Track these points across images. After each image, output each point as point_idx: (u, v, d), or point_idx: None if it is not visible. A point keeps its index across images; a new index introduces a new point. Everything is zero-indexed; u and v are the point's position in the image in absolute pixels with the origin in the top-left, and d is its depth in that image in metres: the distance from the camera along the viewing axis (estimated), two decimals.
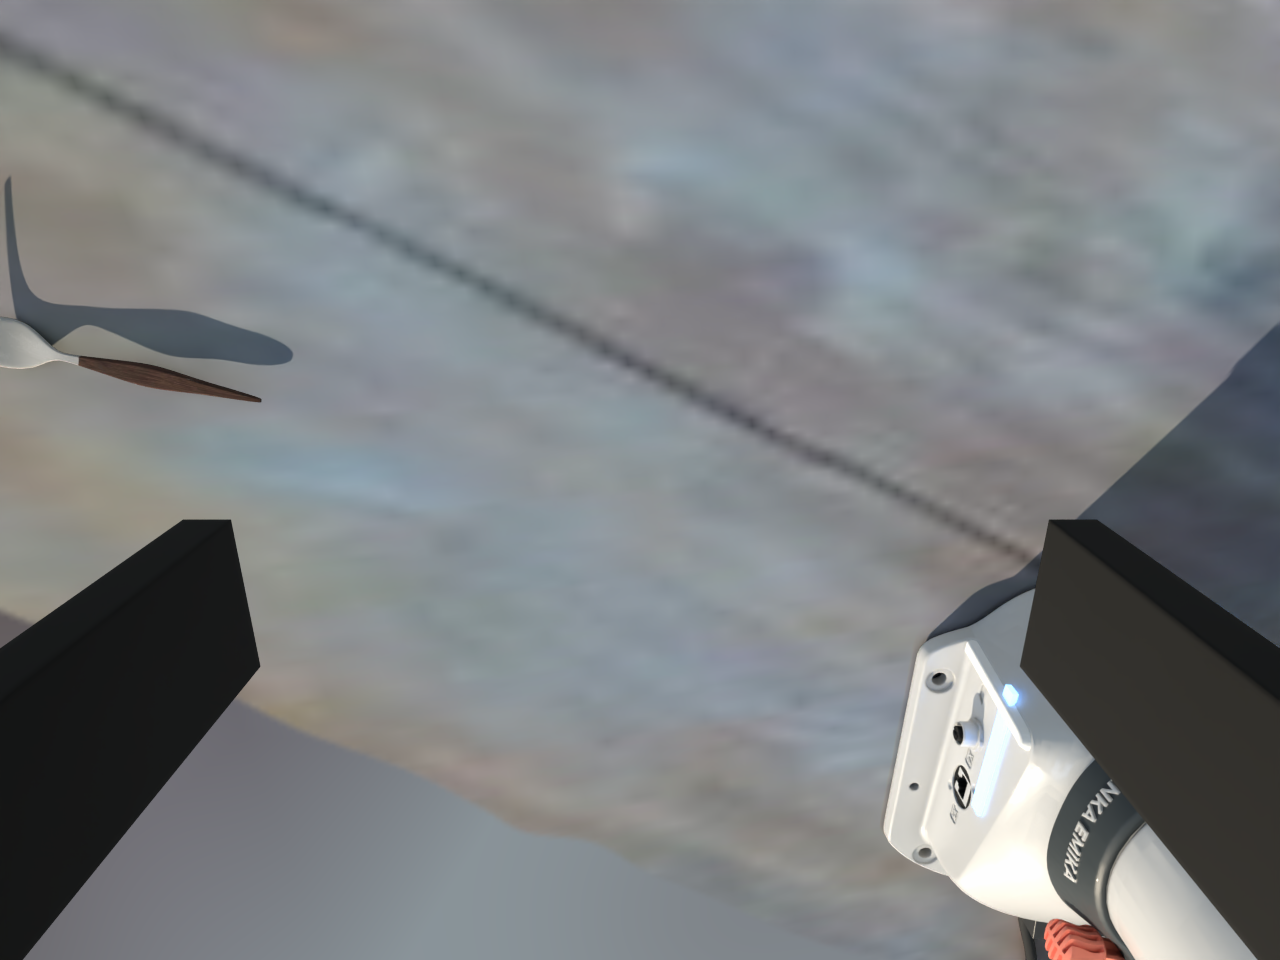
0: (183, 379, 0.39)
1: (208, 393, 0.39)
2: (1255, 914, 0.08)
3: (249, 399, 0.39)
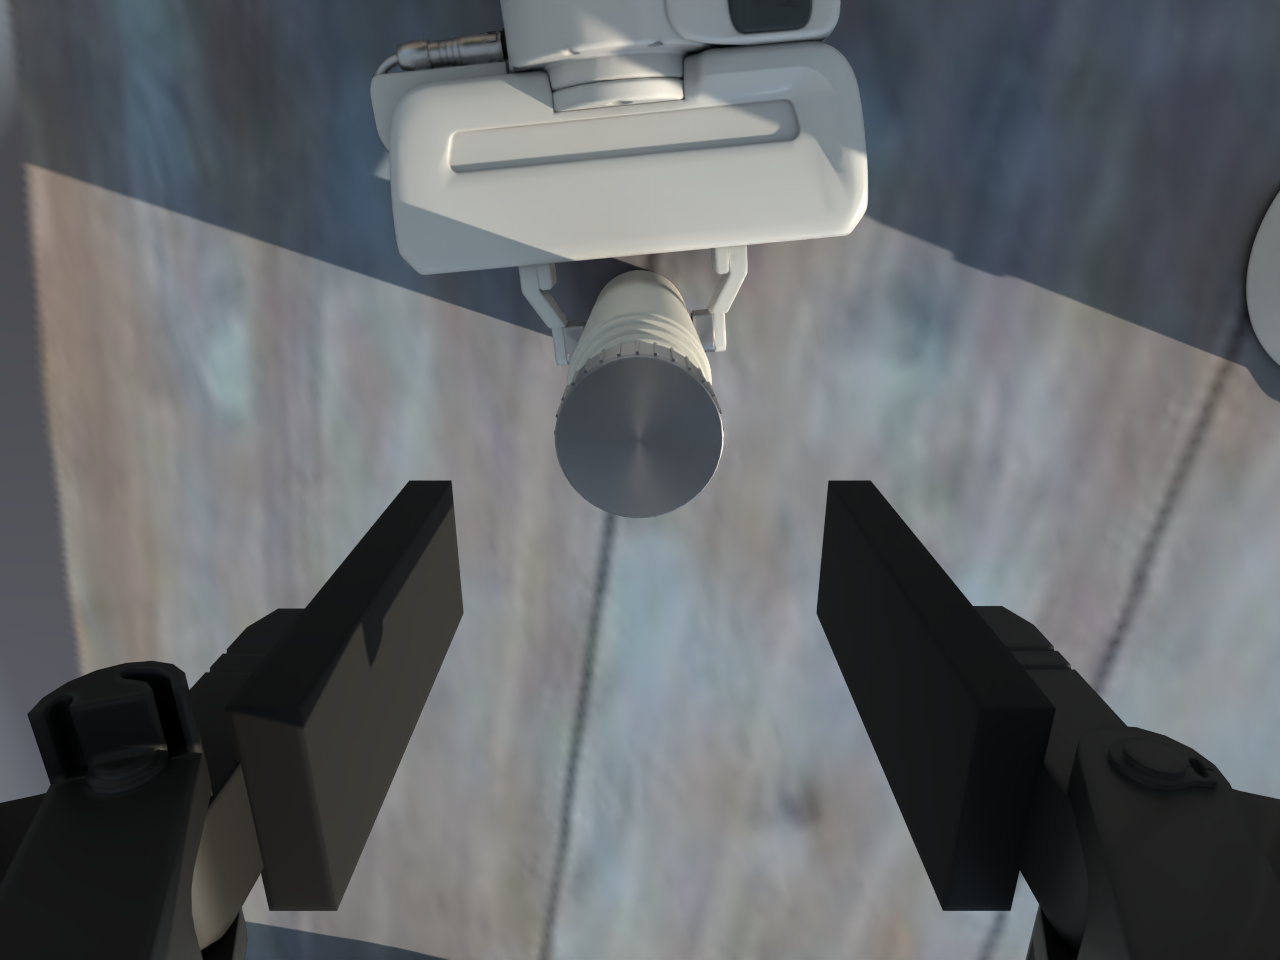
0: None
1: None
2: (907, 791, 0.10)
3: None
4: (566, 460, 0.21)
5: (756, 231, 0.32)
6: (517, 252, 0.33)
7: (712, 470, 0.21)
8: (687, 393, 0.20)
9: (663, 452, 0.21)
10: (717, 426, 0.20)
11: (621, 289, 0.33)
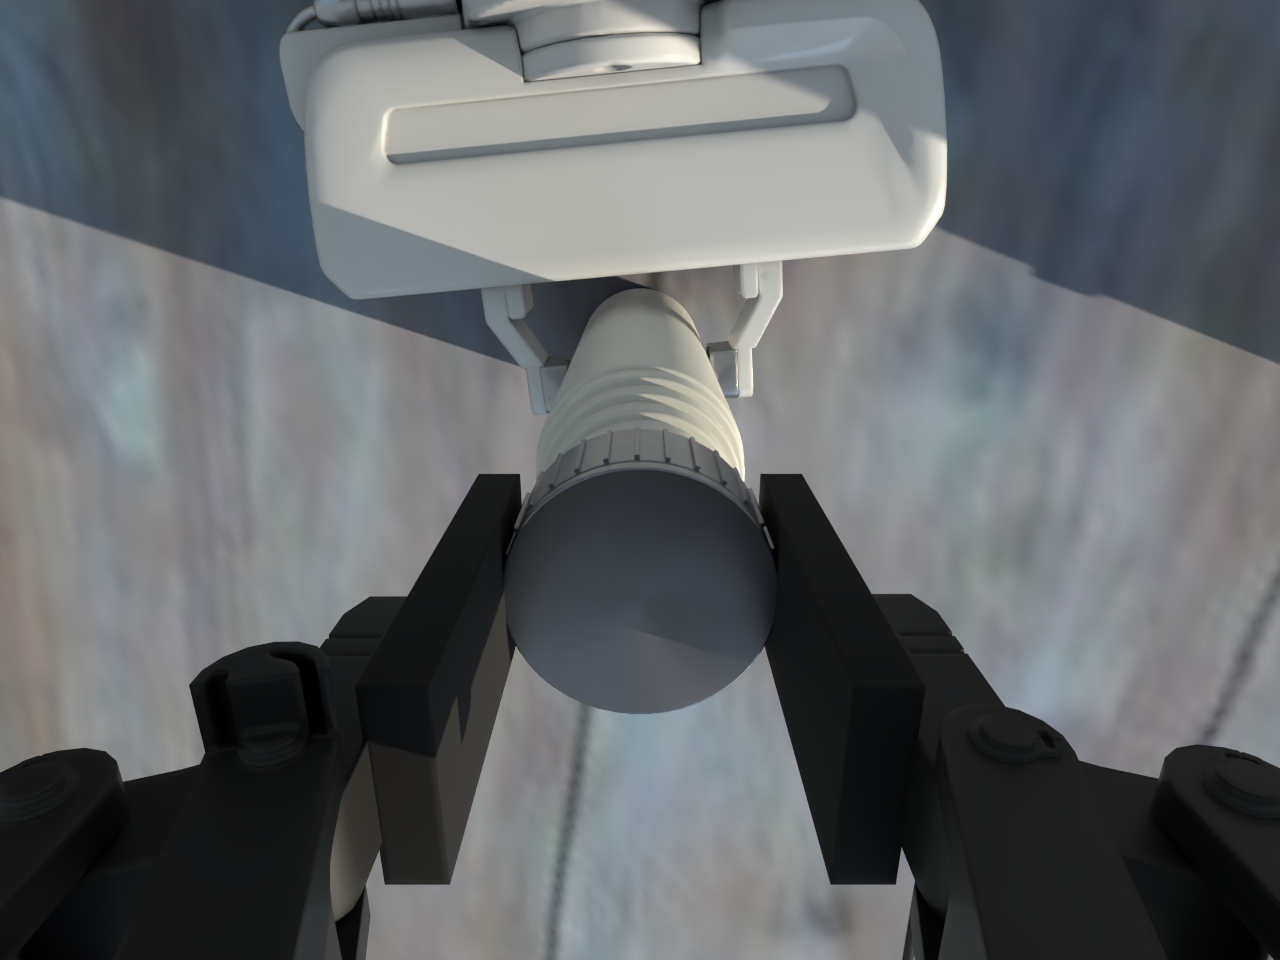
0: None
1: None
2: (808, 770, 0.10)
3: None
4: (521, 628, 0.13)
5: (796, 242, 0.24)
6: (478, 270, 0.25)
7: (760, 643, 0.13)
8: (721, 525, 0.12)
9: (679, 616, 0.13)
10: (770, 577, 0.12)
11: (616, 319, 0.25)
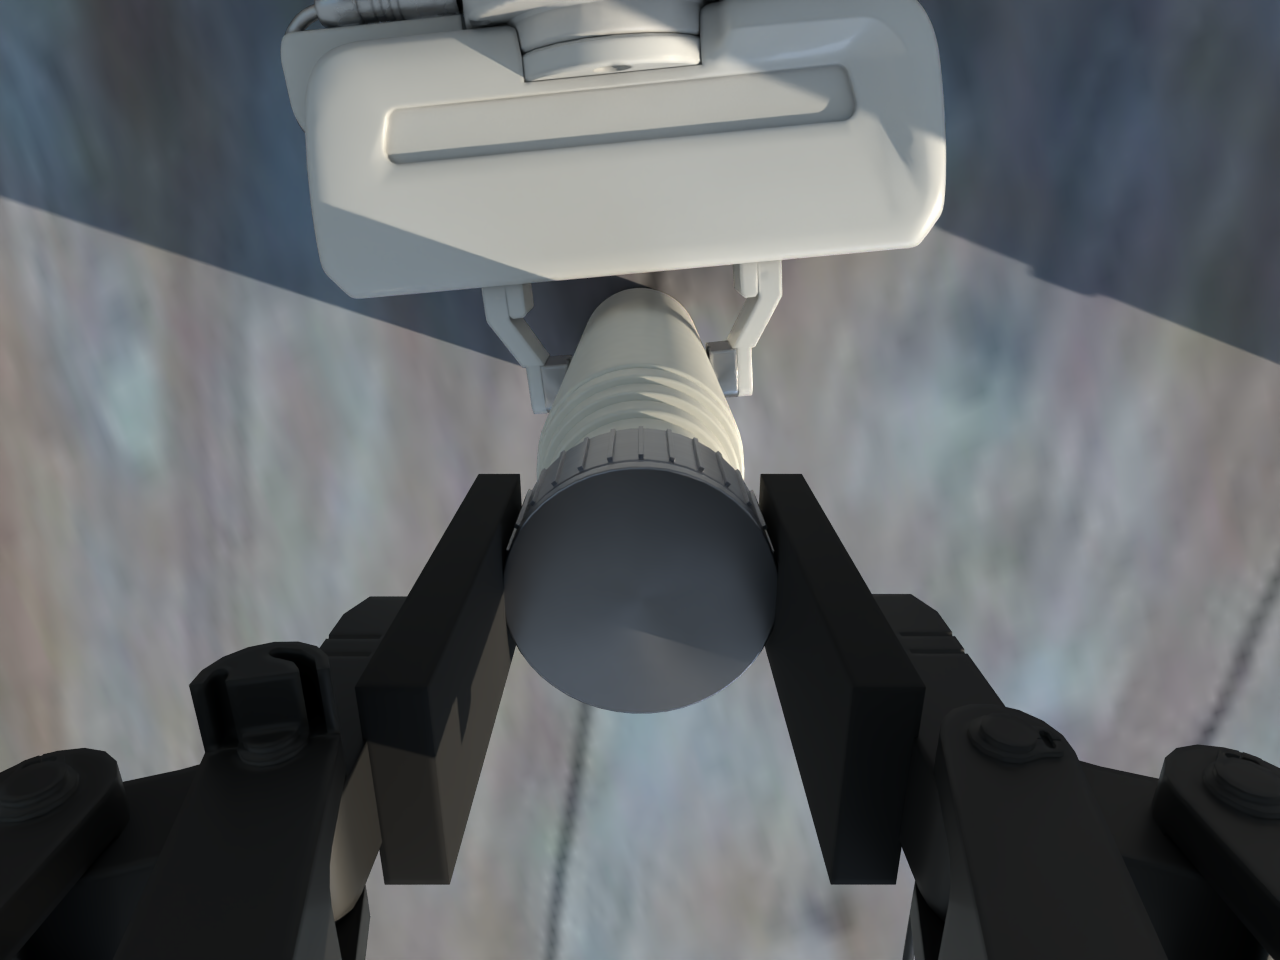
0: None
1: None
2: (808, 771, 0.10)
3: None
4: (688, 695, 0.13)
5: (795, 242, 0.24)
6: (478, 269, 0.25)
7: (677, 477, 0.12)
8: (548, 537, 0.12)
9: (655, 560, 0.12)
10: (595, 483, 0.12)
11: (616, 318, 0.25)
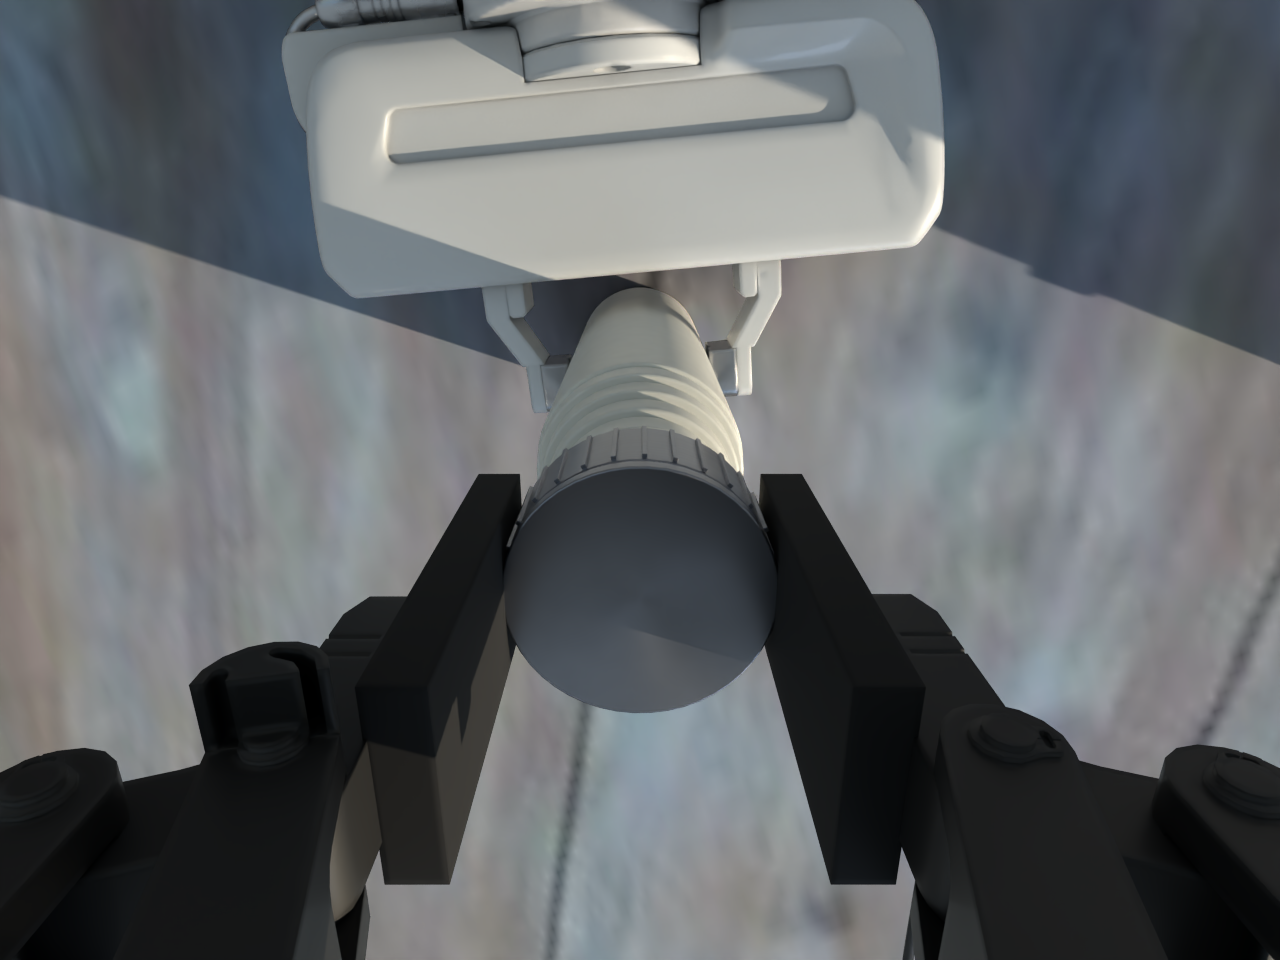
0: None
1: None
2: (809, 771, 0.10)
3: None
4: (750, 537, 0.12)
5: (794, 242, 0.24)
6: (479, 269, 0.25)
7: (507, 582, 0.12)
8: (588, 680, 0.13)
9: (596, 590, 0.12)
10: (526, 649, 0.13)
11: (616, 317, 0.25)
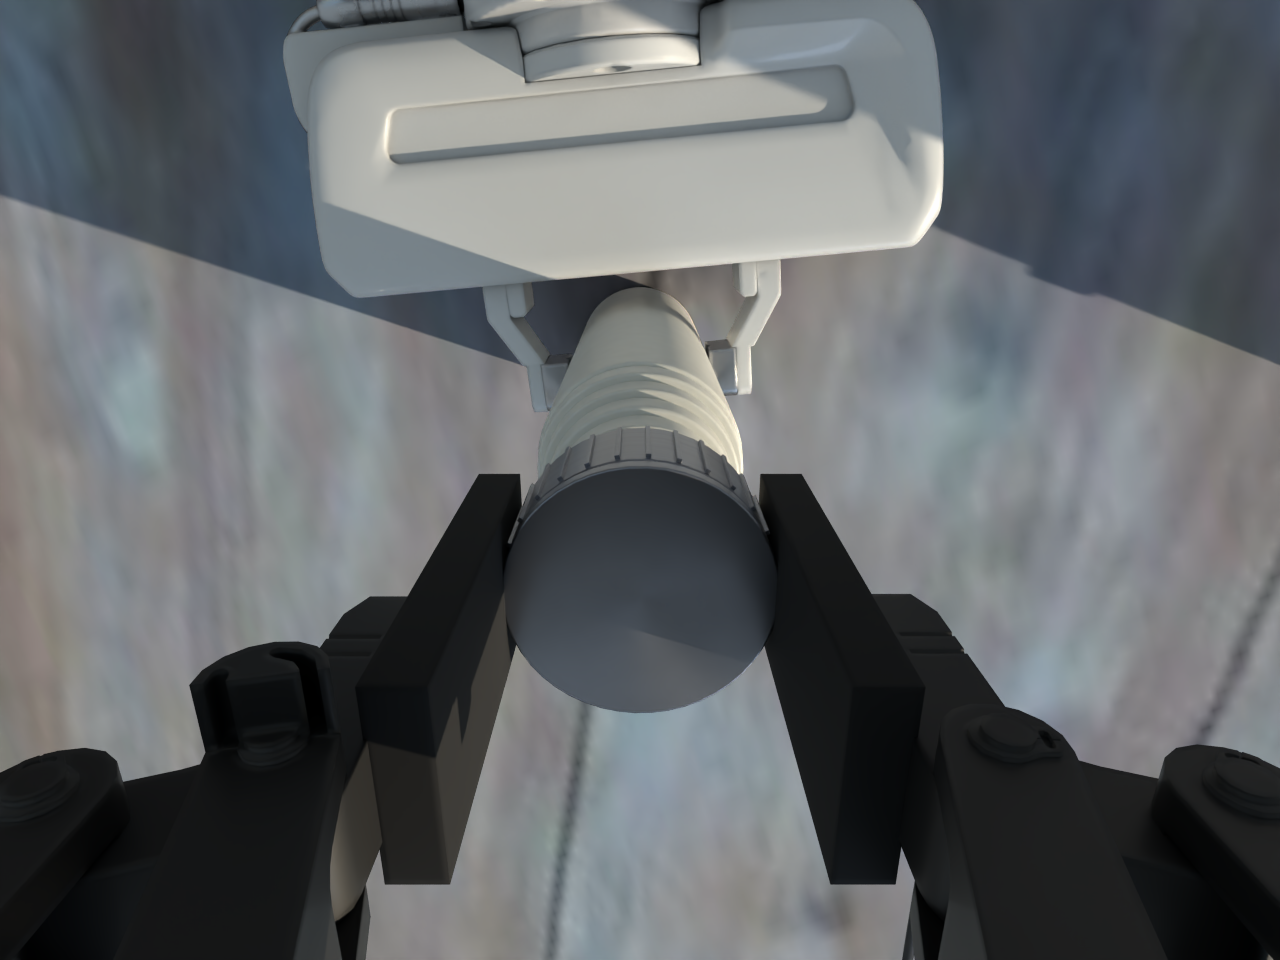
0: None
1: None
2: (808, 771, 0.10)
3: None
4: (556, 507, 0.12)
5: (794, 241, 0.24)
6: (479, 269, 0.25)
7: (641, 708, 0.13)
8: (742, 632, 0.13)
9: (638, 636, 0.13)
10: (711, 689, 0.13)
11: (616, 317, 0.25)
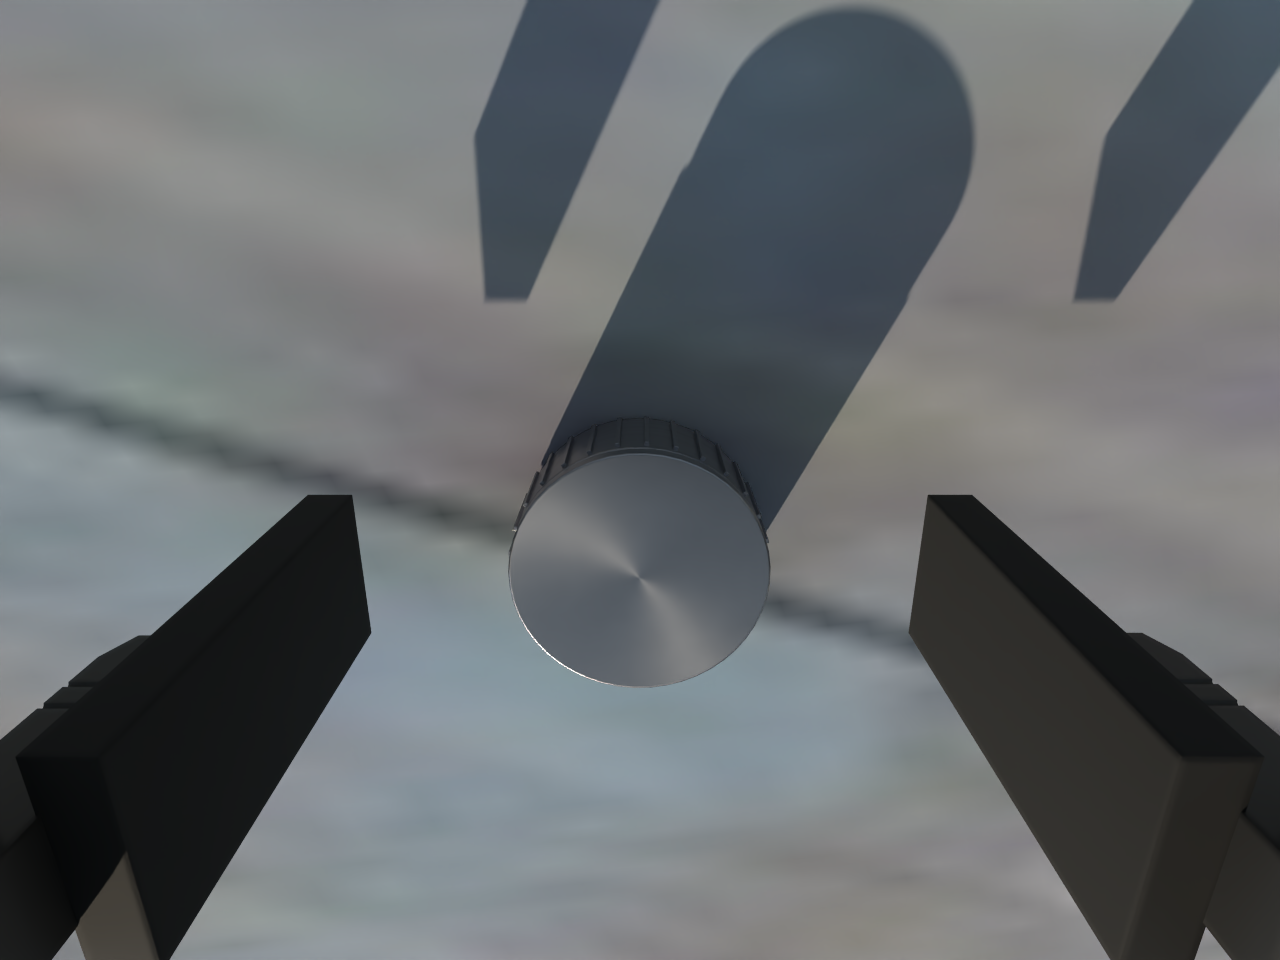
0: None
1: None
2: (1057, 834, 0.09)
3: None
4: (560, 492, 0.13)
5: None
6: None
7: (640, 683, 0.14)
8: (735, 610, 0.13)
9: (637, 614, 0.13)
10: (706, 665, 0.14)
11: None
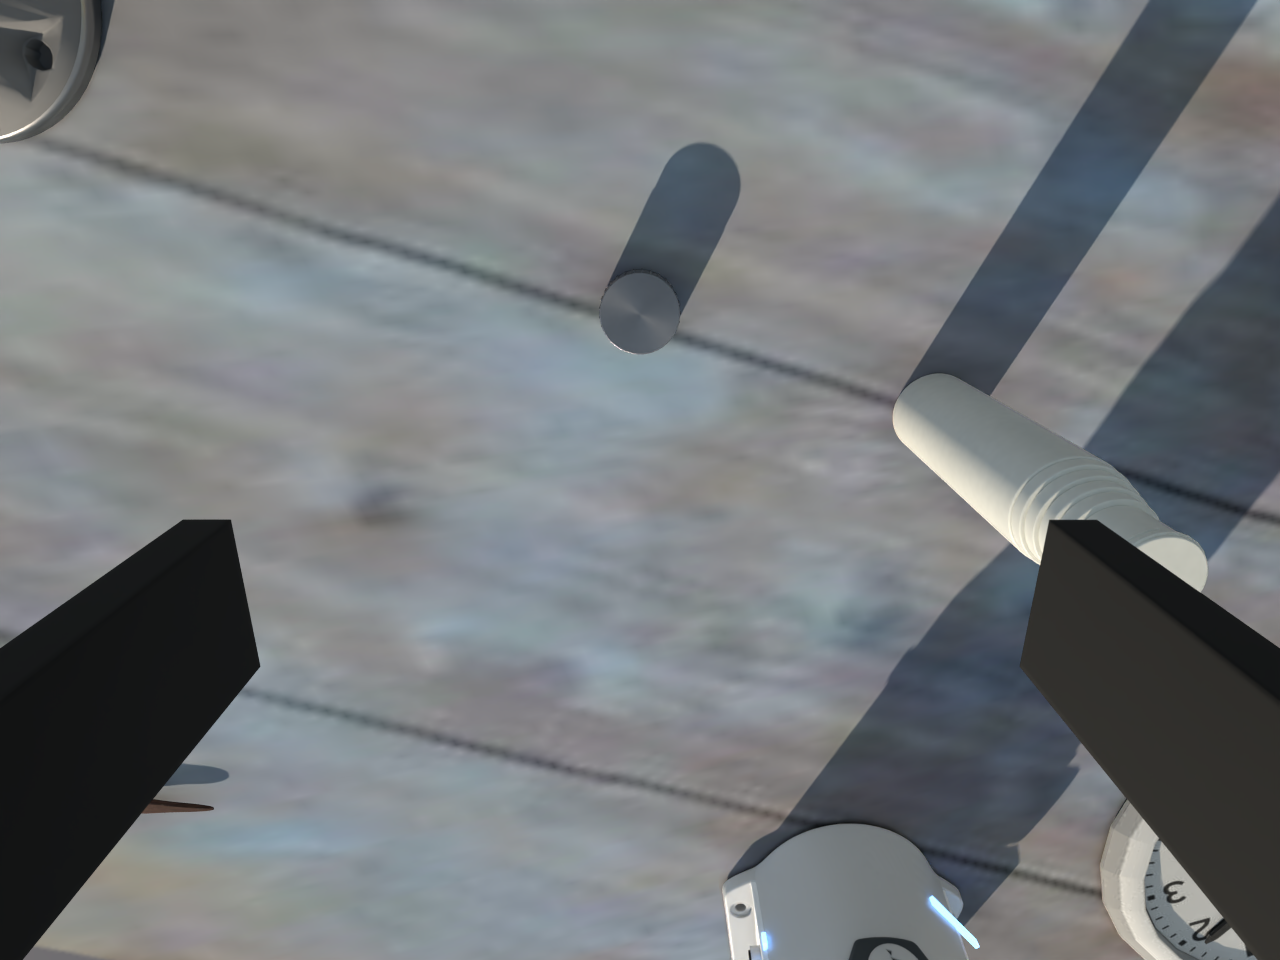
0: (159, 805, 0.57)
1: (177, 811, 0.57)
2: (1257, 914, 0.08)
3: (205, 809, 0.57)
4: (616, 285, 0.42)
5: None
6: None
7: (640, 352, 0.44)
8: (669, 326, 0.43)
9: (639, 327, 0.43)
10: (660, 345, 0.44)
11: None
